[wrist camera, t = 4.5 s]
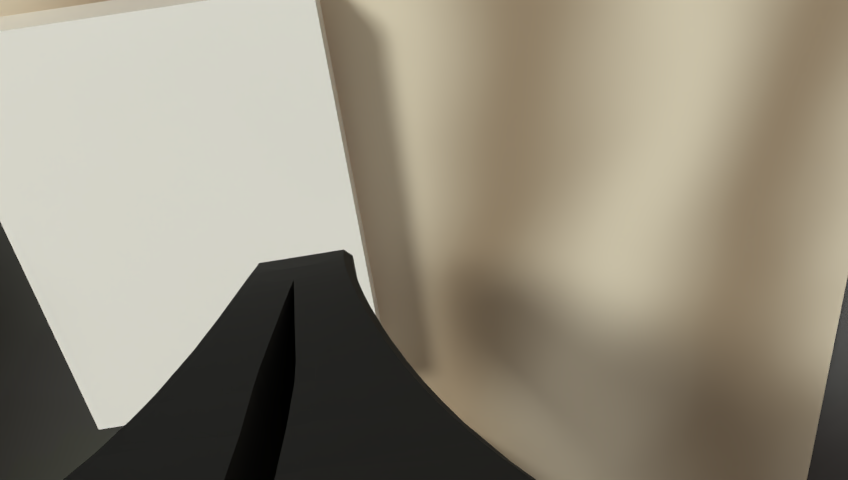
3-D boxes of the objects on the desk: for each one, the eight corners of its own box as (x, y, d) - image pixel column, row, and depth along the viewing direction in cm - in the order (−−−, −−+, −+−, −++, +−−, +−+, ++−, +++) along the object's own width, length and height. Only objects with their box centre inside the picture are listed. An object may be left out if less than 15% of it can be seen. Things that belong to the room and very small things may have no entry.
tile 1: (311, -16, 11) (-84, 43, 11) (388, 381, 15) (98, 430, 15) (314, -35, 13) (-39, 18, 13) (384, 334, 17) (118, 378, 17)
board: (928, -294, 12) (962, -300, 12) (774, 550, 24) (788, 573, 23) (-96, -149, 12) (-122, -146, 11) (241, 643, 23) (238, 669, 22)
